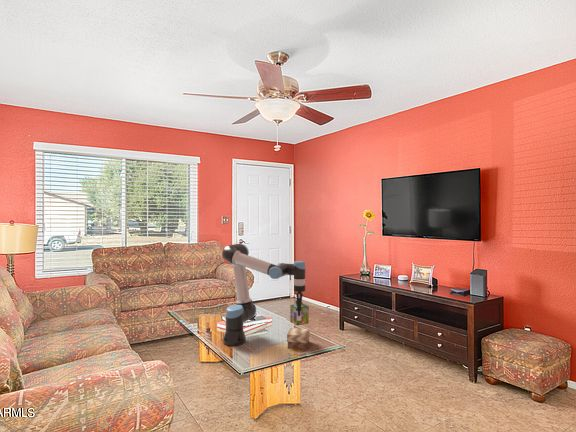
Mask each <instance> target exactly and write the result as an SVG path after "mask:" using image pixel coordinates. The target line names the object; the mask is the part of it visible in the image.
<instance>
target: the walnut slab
mask: <svg viewBox="0 0 576 432" xmlns="http://www.w3.org/2000/svg"><path fill="white" fill-rule="evenodd" d="M309 340H310V338H309V339H308V342H307V343H301V342H287V349H290V348H292V349H293V350H294V349H295V350H297V349H298V350H309V343H310V341H309Z"/></svg>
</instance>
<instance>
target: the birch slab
mask: <svg viewBox="0 0 576 432" xmlns="http://www.w3.org/2000/svg"><path fill="white" fill-rule="evenodd" d="M310 333H311V331H310V328H297V327H296V328H295V327H294V328H292V327H290V328H289V330H288V333H287V334H286V337H287V338H286V341H287V343H288V342H301V343H307V342H308V339H309V340H310Z"/></svg>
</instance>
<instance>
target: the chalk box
mask: <svg viewBox="0 0 576 432" xmlns="http://www.w3.org/2000/svg"><path fill="white" fill-rule="evenodd" d="M302 303H303V300H302V301H301V321H297V311H296V309H297V300H295V303H294V304H290V305H289V306H290V307H289V309H290V312H289V313H290V314H289V315H290V316H289V321H290V323H292V324H294V325H295V326H303V325H308V324H309V322H310V321H309V315H310V313H309V312H310V311H309V310H310V309H309V308H310V306H309V305H306V304H302ZM299 309H300V308H299Z"/></svg>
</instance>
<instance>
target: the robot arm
mask: <svg viewBox="0 0 576 432" xmlns="http://www.w3.org/2000/svg"><path fill="white" fill-rule="evenodd" d="M249 253H250V252H249V248H248V247H247V246H246V245H245V244H244V243H234V244H229V245H226V246H224V247H223V250H222V252H221V255H222V258H223V260H224V261H225V262H227V263H230V265H231V266H232V268H233V274H234V282H235V289H236V290H235V291H236V298H237V300H236V301H235V304H232V305H229V306H227V308H226V310H225V332H224V335H223V338H222V343H223V344H224V345H226V346H233V347H236V346H241V345H243V344H245V343H246V341H247V339H246V334H245V331H244V323H245V322H247V321H249V320H251V319H253V318H254V317H255V315H256V314H257V307H256V305H255V303H254V302H253V300H252V298H250V297H251V296H250V291H249V282H248V276H247V269H246V268H248V269H250V270H253V271H257V272H260V273H262V274H265V275H268V277H270V278H271V279H272V280H275V279H276V280H278V279H280V278H282V277H285V276H293V291H294V292H296V301H297V309H296V311H297V321H301V301H302V304H303V292H305V291H306V281H307V279H306V262H305V261H304V260H303V261H302V260H295V261H294V262H293V263H284V262H279V263H277V264H274V263H271V262H268V261H265V260H262V259H260V258H256V257H253V256H251V255H249ZM299 308H300V309H299Z"/></svg>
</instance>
